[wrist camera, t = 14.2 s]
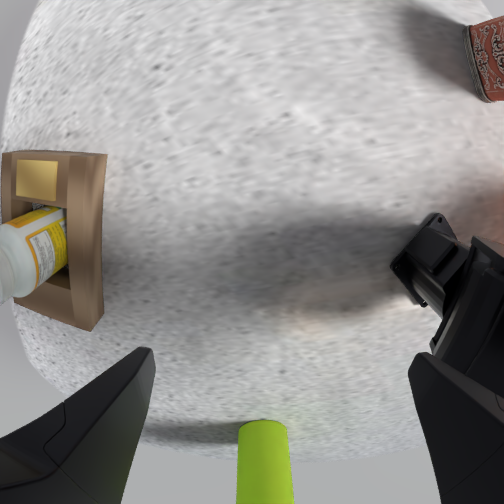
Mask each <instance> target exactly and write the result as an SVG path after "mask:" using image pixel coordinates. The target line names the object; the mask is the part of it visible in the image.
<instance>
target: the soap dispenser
mask: <svg viewBox="0 0 504 504" xmlns="http://www.w3.org/2000/svg"><path fill="white" fill-rule="evenodd" d="M237 465H238V466H237V496H236V504H294V496H293V485H292V477H291V476H292V475H291V467H290V456H289V446H288V437H287V429H286V427H285V426H284V425H283V424H281V423H279V422H276V421H271V420H258V421H252V422H249V423H247V424H245V425H243V426H242V427H241V428H240V429H239V433H238V464H237Z"/></svg>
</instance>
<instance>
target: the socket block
mask: <svg viewBox="0 0 504 504" xmlns="http://www.w3.org/2000/svg"><path fill="white" fill-rule="evenodd" d="M107 155H108V154H98V153H85V152H70V151H50V150H19V151H13V152H6V153H2V166H1V210H2V224H4V223H6V222H8V221H11V220H13V219H15V218H18V217H20V216H22V215H25V214H27V213H29V212H32V202H33V203H38V204H44V205H50V206H56V207H61V208H67V249H68V265H69V269H67V268H63V267H62V268H61V269H60V270H58V271H57V272H56V273H55V274H53V275H52V276H51V277H49V278H48V279H47V280H46V281H45V282H43V283H42V284H41V285H40V286H38V287H37V288H36V289H35V290H34V291H32V292H31V293H30V294H28V295H27V296H25V297H13V299H14V303H17V304H19V305H21V306H23V307H26V308H28V309H30V310H33V311H35V312H37V313H40V314H42V315H45V316H47V317H50V318H53V319H55V320H58V321H60V322H63V323H66V324H69V325H71V326H74V327H77V328H80V329H83V330H86V331H89V332H91V331H92V329H93V328H94V326H95V325H96V324H97V322H98V321H99V320H100V318H101V317H102V316H103V314H104V304H103V287H102V210H103V194H104V182H105V172H106V163H107Z"/></svg>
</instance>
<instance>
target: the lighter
mask: <svg viewBox="0 0 504 504" xmlns="http://www.w3.org/2000/svg"><path fill="white" fill-rule="evenodd" d="M463 38H464V45H465V49H466V54H467V59H468V63H469V66H470V70H471V74H472V77H473V81H474V84H475V87H476V91H477V93H478V96H479V97H480V99H481V100H483V101H484V102H486V103H495V102H497V101H504V16H501V17H498V18H494V19H491V20H488V21H485V22H482V23H479V24H477V25H468V26H466V27H464V28H463Z"/></svg>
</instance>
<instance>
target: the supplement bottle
mask: <svg viewBox="0 0 504 504" xmlns="http://www.w3.org/2000/svg"><path fill="white" fill-rule="evenodd" d="M66 264H68V249H67V208H61V207H56V206H50V205H47V206H44V207H42V208H39V209H37V210H34V211H32V212H29V213H27V214H25V215H22V216H20V217H18V218H15V219H13V220H11V221H8V222H6V223H4V224H2V225H0V305H1V304H3V303H4V302H5V301H6V300H8V299H9V298H10V297H11V296H13V297H25V296H27V295H28V294H30V293H31V292H32V291H34V290H35V289H36V288H37V287H38V286H40V285H41V284H42V283H43V282H45V281H46V280H47V279H48V278H49V277H51V276H52V275H53V274H55V273H56V272H57V271H58V270H60V269H61V268H62V267H64V266H65V265H66Z"/></svg>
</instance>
